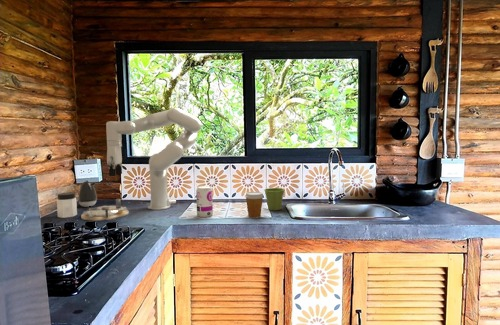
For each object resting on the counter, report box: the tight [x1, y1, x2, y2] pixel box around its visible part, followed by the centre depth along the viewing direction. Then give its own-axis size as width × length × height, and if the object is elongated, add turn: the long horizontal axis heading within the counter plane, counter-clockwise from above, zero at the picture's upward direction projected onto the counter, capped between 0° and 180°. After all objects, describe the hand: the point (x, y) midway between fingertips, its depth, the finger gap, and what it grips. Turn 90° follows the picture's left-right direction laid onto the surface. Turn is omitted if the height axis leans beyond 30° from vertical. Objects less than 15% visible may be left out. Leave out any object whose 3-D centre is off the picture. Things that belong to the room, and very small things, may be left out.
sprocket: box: [83, 198, 127, 217], centre depth 170 cm, size 21×21×6 cm
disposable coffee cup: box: [244, 191, 265, 218], centre depth 165 cm, size 10×10×12 cm
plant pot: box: [263, 187, 286, 211], centre depth 180 cm, size 12×12×11 cm
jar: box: [56, 191, 78, 219], centre depth 169 cm, size 9×8×12 cm
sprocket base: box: [80, 208, 130, 222], centre depth 171 cm, size 23×23×5 cm
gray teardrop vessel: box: [77, 180, 98, 208], centre depth 193 cm, size 10×10×15 cm
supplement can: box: [195, 185, 214, 218], centre depth 167 cm, size 8×8×15 cm
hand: (115, 174), depth 178 cm, fingers open, 9 cm apart
